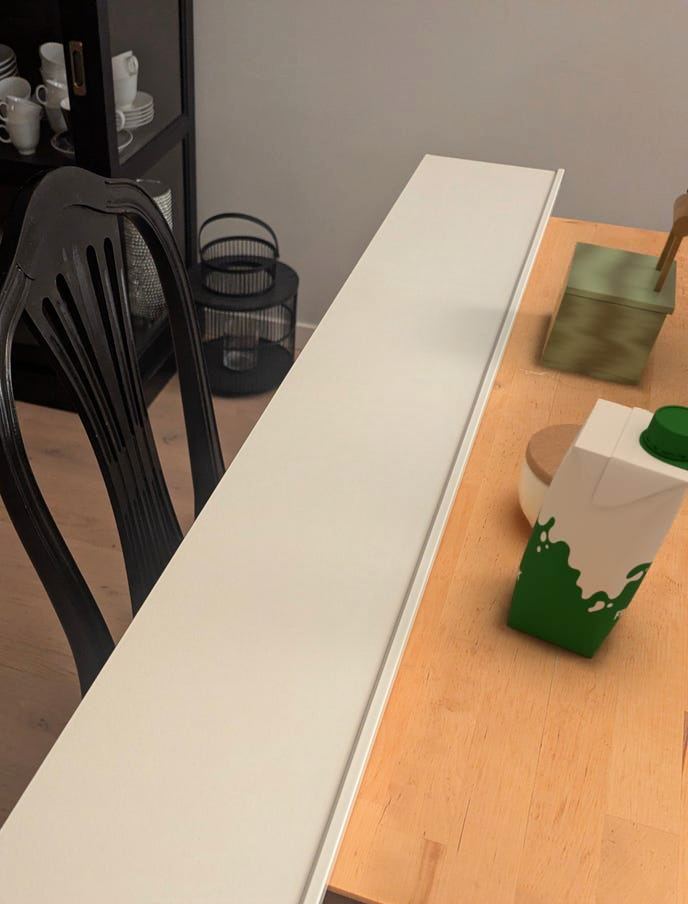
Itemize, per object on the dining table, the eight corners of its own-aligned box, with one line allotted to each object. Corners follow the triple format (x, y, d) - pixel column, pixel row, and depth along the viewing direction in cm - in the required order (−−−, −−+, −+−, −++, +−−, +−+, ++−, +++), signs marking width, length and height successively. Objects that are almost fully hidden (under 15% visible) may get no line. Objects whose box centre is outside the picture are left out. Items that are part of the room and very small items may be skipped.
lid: (674, 267, 108) (708, 187, 101) (672, 315, 99) (709, 230, 92) (574, 247, 110) (601, 168, 104) (564, 293, 101) (592, 209, 95)
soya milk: (599, 670, 73) (711, 463, 59) (490, 627, 76) (571, 419, 62) (623, 606, 79) (730, 402, 64) (520, 568, 81) (601, 364, 67)
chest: (640, 335, 114) (669, 266, 108) (635, 386, 105) (667, 314, 99) (551, 316, 116) (574, 248, 110) (539, 364, 107) (563, 293, 101)
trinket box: (622, 573, 82) (665, 488, 75) (501, 548, 83) (533, 463, 76) (617, 503, 89) (655, 420, 82) (505, 482, 90) (534, 398, 84)
